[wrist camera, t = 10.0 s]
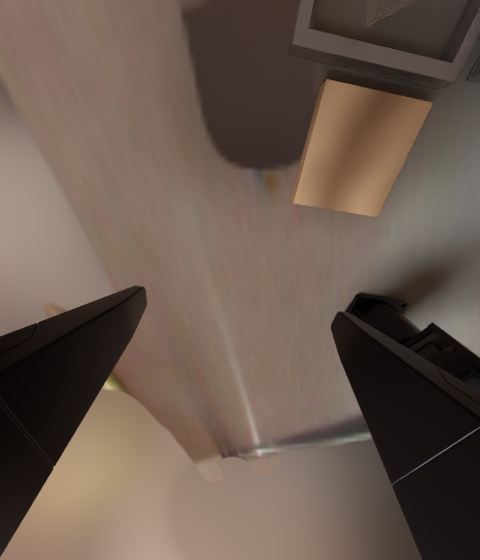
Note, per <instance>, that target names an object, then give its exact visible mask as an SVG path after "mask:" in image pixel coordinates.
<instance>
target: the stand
mask: <svg viewBox="0 0 480 560" xmlns="http://www.w3.org/2000/svg"><path fill="white" fill-rule="evenodd" d="M432 104H433V103H432V102H427V101H423V100H418V99H414V98H409V97H405V96H401V95H396V94H392V93H387V92H383V91H378V90H374V89H369V88H365V87H360V86H356V85H351V84H347V83H342V82H338V81H333V80H329V79H327V80H326V81H325V82H324V83H323V84H322V85H321V86H320V90H319V93H318V97H317V101H316V105H315V109H314V112H313V116H312V120H311V124H310V128H309V131H308V135H307V139H306V143H305V147H304V151H303V154H302V158H301V162H300V166H299V170H298V173H297V177H296V181H295V185H294V189H293V193H292V196H291V200H290V202H292V203H296V204H302V205H308V206H314V207H319V208H325V209H331V210H337V211H343V212H349V213H355V214H361V215H367V216H373V217H378V215H379V213H380V211H381V209H382V207H383V205H384V203H385V201H386V199H387V197H388V195H389V193H390V191H391V189H392V187H393V184H394V182H395V180H396V178H397V176H398V174H399V172H400V170H401V168H402V166H403V164H404V162H405V160H406V158H407V156H408V154H409V152H410V150H411V148H412V146H413V143H414V141H415V139H416V137H417V135H418V133H419V131H420V129H421V127H422V125H423V123H424V121H425V119H426V117H427V115H428V113H429V111H430V109H431V107H432Z"/></svg>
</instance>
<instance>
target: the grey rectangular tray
mask: <svg viewBox="0 0 480 560" xmlns="http://www.w3.org/2000/svg"><path fill="white" fill-rule="evenodd" d="M313 4H314V0H298V6H297V11H296V16H295V21H294V27H293V32H292V37H291V42H290V48H289V53H288V55H291V56H295V57H300V58H304V59H308V60H313V61H317V62H321V63H326V64H330V65H334V66H339V67H343V68H348V69H352V70H356V71H361V72H365V73H369V74H374V75H378V76H382V77H387V78H391V79H395V80H400V81H404V82H408V83H413V84H417V85H421V86H426V87H430V88H435V89H441V88H443V87H446V86H448V85H450V84H452V83H455V81H456V79H457V77H458V75H459V74H460V72H461V70H462V68H463V66H464V64H465V62H466V60H467V58H468V56H469V54H470V52H471V50H472V48H473V46H474V44H475V42H476V40H477V38H478V36H479V34H480V0H469V2H468V4H467V7H466V9H465V11H464V13H463V15H462V17H461V20H460V22H459V24H458V26H457V28H456V30H455V32H454V35H453V37H452V39H451V41H450V43H449V45H448V47H447V50H446V52H445V54H444V56H443V58H442V60H437V59H433V58H429V57H424V56H420V55H416V54H412V53H408V52H404V51H400V50H396V49H391V48H387V47H383V46H379V45H375V44H371V43H367V42H363V41H359V40H354V39H350V38H346V37H342V36H338V35H334V34H330V33H326V32H321V31H317V30H313V29H309V23H310V18H311V14H312V9H313ZM467 80H471V81H475V82H479V83H480V56H479V58H478V60H477V62H476V64H475V65H474V67H473V69H472V71H471V73H470V75H469V77H468V79H467Z"/></svg>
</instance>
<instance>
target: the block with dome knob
mask: <svg viewBox="0 0 480 560" xmlns="http://www.w3.org/2000/svg"><path fill="white" fill-rule="evenodd" d="M416 1H417V0H365V15H366V27H368V26H370V25H372V24H374V23H375V22H377V21H379V20H381V19H383V18H385V17H387V16H389V15H391V14H393V13H395V12H396V11H398V10H400V9H402V8H404V7H406V6H408V5H410V4H412V3H414V2H416Z"/></svg>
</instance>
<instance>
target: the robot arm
mask: <svg viewBox="0 0 480 560" xmlns="http://www.w3.org/2000/svg"><path fill="white" fill-rule="evenodd" d="M359 299H360V300H359ZM146 306H147V298H146V290H145V288H144V287H141V286H133V287H130V288H127V289H125V290H122V291H119V292H117V293H114V294H111V295H109V296H106V297H104V298H101V299H98V300H96V301H93V302H90V303H88V304H85V305H82V306H80V307H77V308H75V309H72V310H69V311H67V312H64V313H61V314H59V315H56V316H53V317H51V318H48V319H46V320H43V321H40V322H39V323H38V324H37V323H35V324H32V325H30V326H27V327H24V328H22V329H19V330H16V331H14V332H11V333H8V334H6V335H3V336H0V557H1V555H2V553H3V552H4V550H5V548H6V547H7V545H8V543H9V542H10V540H11V538H12V537H13V535H14V533H15V532H16V530H17V528H18V527H19V525H20V523H21V522H22V520H23V518H24V517H25V515H26V514H27V512H28V510H29V509H30V507H31V505H32V503H33V502H34V500H35V498H36V497H37V495H38V494H39V492H40V490H41V489H42V487H43V485H44V483H45V482H46V480H47V479H48V477H49V475H50V474H51V472H52V470H53V467H54V466H55V465H56V463H57V462H58V460H59V458H60V457H61V455H62V453H63V452H64V450H65V448H66V447H67V445H68V443H69V442H70V440H71V438H72V437H73V435H74V433H75V432H76V430H77V428H78V427H79V425H80V423H81V422H82V420H83V418H84V417H85V415H86V413H87V412H88V410H89V408H90V407H91V405H92V403H93V402H94V400H95V398H96V397H97V395H98V393H99V392H100V390H101V388H102V387H103V385H104V383H105V382H106V380H107V379H108V377H109V375H110V374H111V372H112V370H113V369H114V367H115V365H116V364H117V362H118V360H119V359H120V357H121V355H122V354H123V352H124V350H125V349H126V347H127V345H128V344H129V342H130V340H131V338H132V337H133V335H134V333H135V330H136V328H137V326H138V324H139V322H140V319H141V317H142V315H143V313H144V311H145V308H146ZM407 306H408V303H407V302H405V301H403V300H396V299H388V298H381V297H374V296H366V295H358V296H356V297H355V299H354V301H353V303H352V304H351V306H350V308H349V310H348V312H338V313H337V314H336V316H335V318H334V320H333V322H332V324H331V331H332V334H333V337H334V341H335V344H336V348H337V351H338V354H339V357H340V360H341V363H342V365H343V368H344V370H345V372H346V375H347V377H348V380H349V382H350V385H351V387H352V390H353V392H354V394H355V397H356V399H357V402H358V404H359V407H360V409H361V411H362V414H363V416H364V419H365V421H366V424H367V426H368V428H369V431H370V433H371V436H372V438H373V440H374V443H375V446H376V448H377V450H378V452H379V455H380V458H381V460H382V463H383V465H384V467H385V470H386V472H387V475H388V477H389V480H390V482H391V484H392V487H393V490H394V492H395V495H396V497H397V499H398V502H399V504H400V507H401V509H402V512H403V514H404V516H405V519H406V521H407V524H408V526H409V529H410V531H411V533H412V536H413V538H414V541H415V543H416V546H417V548H418V550H419V553H420V555H421V558H422V560H480V357H479V356H478V355H476V354H475V353H474V352H472V351H471V350H470V349H468V348H467V347H466V346H464V345H463V344H462V343H460V342H459V341H458V340H456V339H455V338H453V337H452V336H451V335H449V334H448V333H446V332H445V331H444V330H442V329H441V328H440V327H438V326H437V325H435V324H434V323H433V322H432V323H431V324H429V325H428V327H427V328H425V329H424V330H423V331H421V330H420V329H418V328H417V327H416V326H415V325H414V324H413V323H411V322H410V321H409V320H408V319H407V318H405V317H404V316H403V315H402V313H403V311H404V310H405V309H406V307H407Z"/></svg>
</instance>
